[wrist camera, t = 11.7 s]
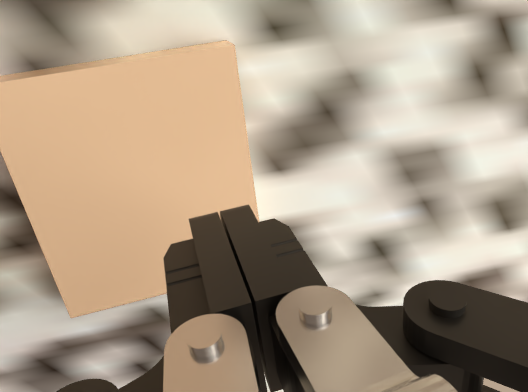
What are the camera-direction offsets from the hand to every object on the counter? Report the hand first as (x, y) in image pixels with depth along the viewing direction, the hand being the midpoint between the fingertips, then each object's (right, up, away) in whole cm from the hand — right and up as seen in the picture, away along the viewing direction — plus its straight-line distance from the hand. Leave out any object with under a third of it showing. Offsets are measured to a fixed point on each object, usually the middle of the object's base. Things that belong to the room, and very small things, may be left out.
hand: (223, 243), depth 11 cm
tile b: (0, +2, +4) cm, 5 cm away
